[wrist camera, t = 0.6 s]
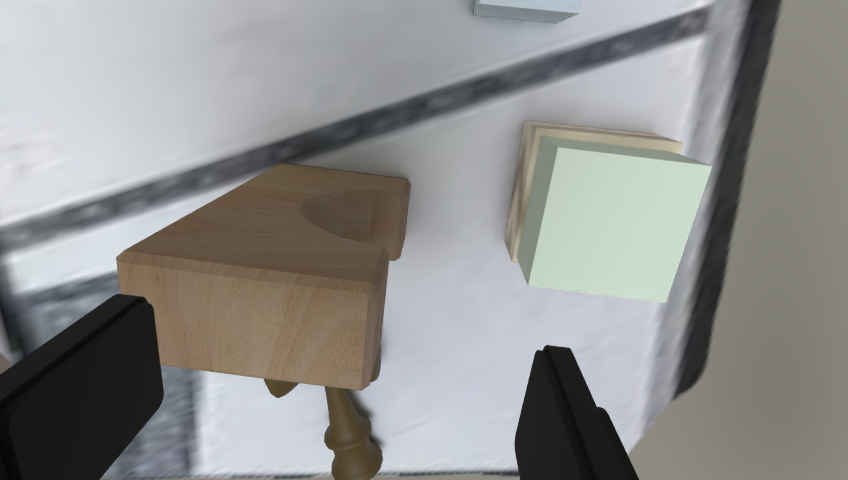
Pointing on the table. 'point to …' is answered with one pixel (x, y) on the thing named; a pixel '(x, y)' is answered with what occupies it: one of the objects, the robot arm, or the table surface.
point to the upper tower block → (608, 218)
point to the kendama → (344, 431)
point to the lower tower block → (597, 135)
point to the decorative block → (276, 276)
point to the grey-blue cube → (528, 9)
